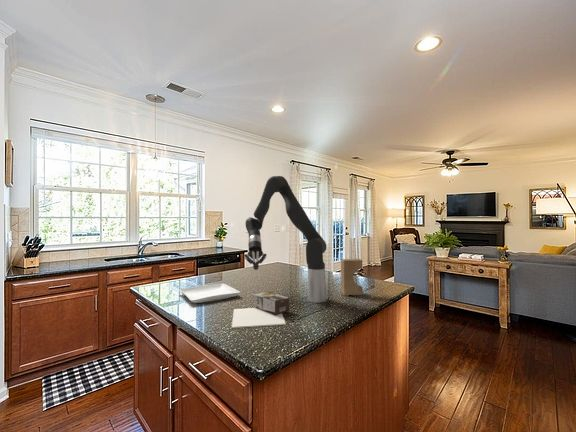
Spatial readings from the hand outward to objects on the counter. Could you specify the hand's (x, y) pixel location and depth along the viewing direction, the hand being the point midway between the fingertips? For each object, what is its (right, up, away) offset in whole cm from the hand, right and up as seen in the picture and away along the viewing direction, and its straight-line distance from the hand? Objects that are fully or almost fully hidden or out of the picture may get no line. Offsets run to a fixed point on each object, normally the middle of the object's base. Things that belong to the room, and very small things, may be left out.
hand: (256, 269), depth 149 cm
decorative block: (+54, -17, +10) cm, 57 cm away
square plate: (-28, -17, +8) cm, 34 cm away
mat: (+4, -16, -25) cm, 31 cm away
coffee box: (+4, -13, -11) cm, 17 cm away
